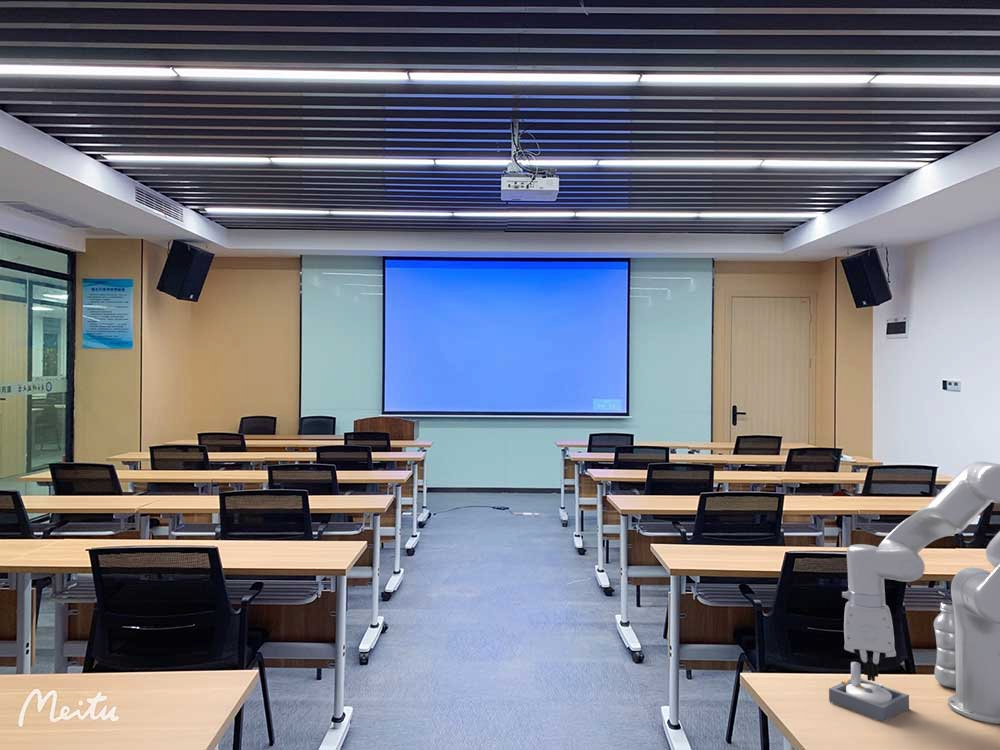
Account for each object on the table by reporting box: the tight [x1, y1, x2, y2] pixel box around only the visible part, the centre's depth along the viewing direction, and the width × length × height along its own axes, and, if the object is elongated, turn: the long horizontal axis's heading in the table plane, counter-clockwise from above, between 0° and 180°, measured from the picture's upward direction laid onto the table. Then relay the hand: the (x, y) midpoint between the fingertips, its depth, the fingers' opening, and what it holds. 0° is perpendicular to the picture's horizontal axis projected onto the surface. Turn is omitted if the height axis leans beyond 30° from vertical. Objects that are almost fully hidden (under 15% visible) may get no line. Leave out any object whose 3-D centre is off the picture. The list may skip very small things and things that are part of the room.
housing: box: [828, 678, 910, 723], centre depth 154 cm, size 12×12×4 cm
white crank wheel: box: [846, 661, 892, 705], centre depth 154 cm, size 9×9×7 cm
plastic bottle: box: [933, 601, 956, 689], centre depth 166 cm, size 6×7×20 cm
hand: (871, 678), depth 157 cm, fingers closed
